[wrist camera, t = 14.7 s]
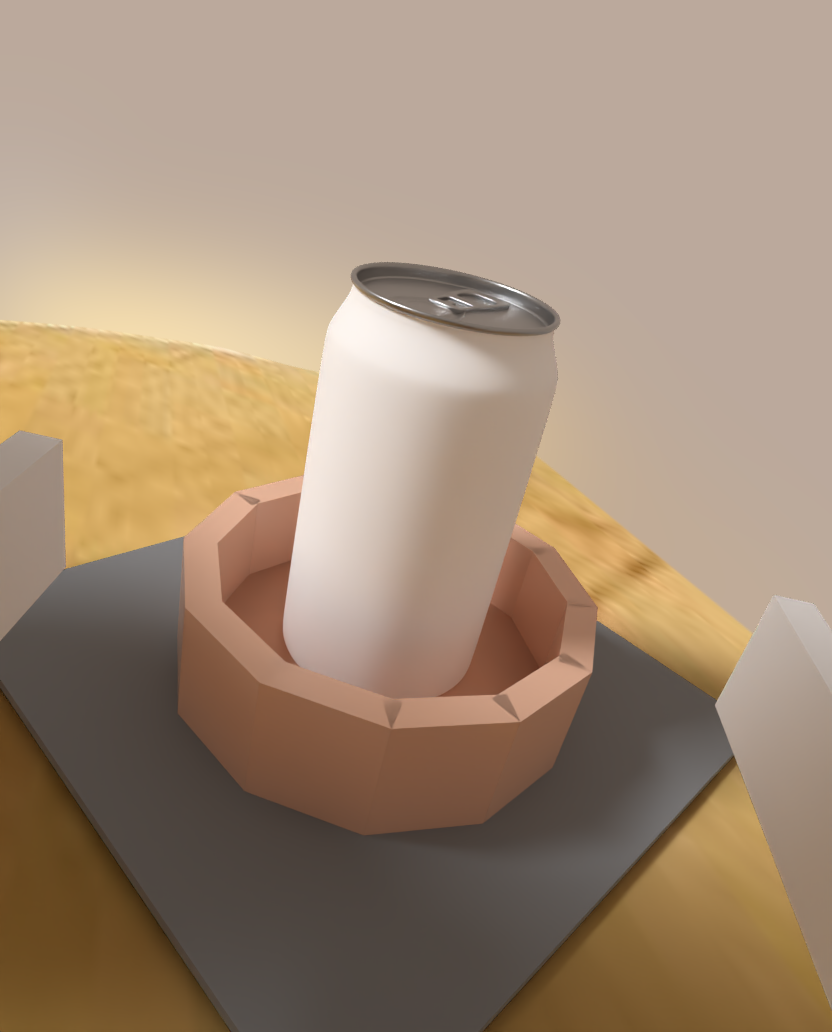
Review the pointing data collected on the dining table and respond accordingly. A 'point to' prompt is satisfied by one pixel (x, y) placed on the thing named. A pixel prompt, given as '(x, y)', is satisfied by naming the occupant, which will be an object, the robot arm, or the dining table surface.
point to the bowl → (361, 713)
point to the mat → (330, 848)
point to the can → (415, 474)
